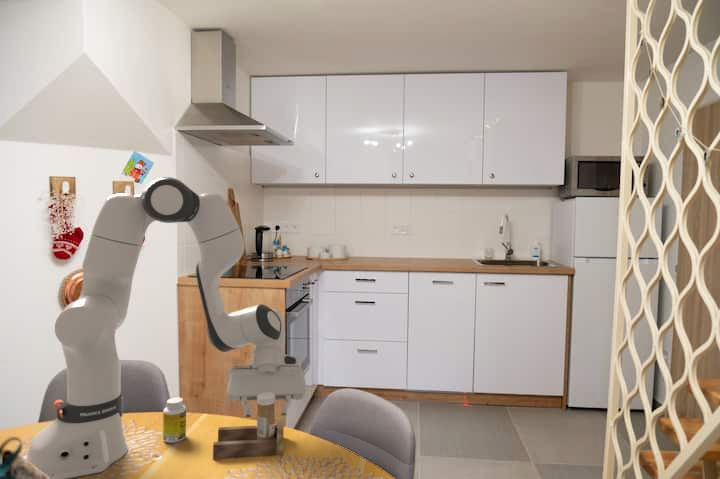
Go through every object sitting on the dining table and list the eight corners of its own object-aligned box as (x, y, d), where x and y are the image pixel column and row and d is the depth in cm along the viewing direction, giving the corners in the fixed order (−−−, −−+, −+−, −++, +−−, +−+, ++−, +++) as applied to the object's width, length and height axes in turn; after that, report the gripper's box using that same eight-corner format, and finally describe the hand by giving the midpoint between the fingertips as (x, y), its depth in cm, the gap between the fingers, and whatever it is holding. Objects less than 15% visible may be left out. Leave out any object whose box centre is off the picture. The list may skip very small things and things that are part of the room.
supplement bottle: (182, 443, 117) (182, 404, 117) (159, 444, 116) (160, 404, 116) (188, 433, 122) (188, 396, 122) (167, 434, 122) (167, 396, 122)
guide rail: (213, 459, 110) (213, 440, 109) (218, 440, 119) (219, 423, 119) (283, 455, 112) (283, 437, 112) (283, 437, 122) (283, 420, 121)
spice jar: (277, 448, 116) (278, 395, 115) (260, 452, 113) (260, 399, 112) (270, 440, 119) (271, 390, 119) (253, 445, 117) (254, 393, 116)
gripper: (227, 360, 121) (222, 412, 111) (305, 358, 124) (306, 408, 115) (229, 371, 125) (224, 422, 116) (304, 369, 128) (305, 418, 119)
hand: (266, 415), depth 115 cm, fingers open, 8 cm apart
